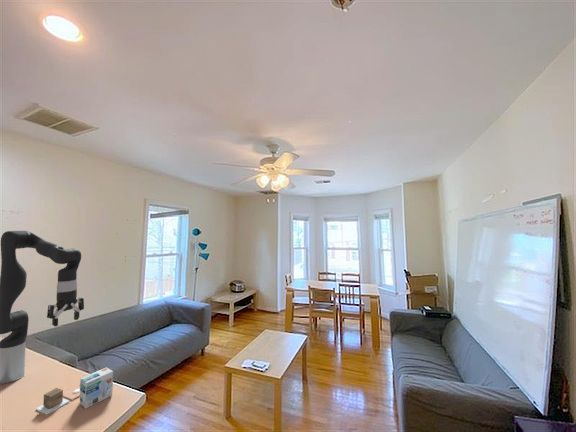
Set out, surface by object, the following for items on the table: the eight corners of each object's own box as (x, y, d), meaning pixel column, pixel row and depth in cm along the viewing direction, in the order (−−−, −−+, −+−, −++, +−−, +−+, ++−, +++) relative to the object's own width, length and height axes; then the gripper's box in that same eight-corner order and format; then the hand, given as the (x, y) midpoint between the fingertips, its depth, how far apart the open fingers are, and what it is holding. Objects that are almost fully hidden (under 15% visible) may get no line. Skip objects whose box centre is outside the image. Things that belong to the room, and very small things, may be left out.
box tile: (35, 409, 107) (35, 407, 107) (58, 397, 114) (58, 395, 114) (47, 414, 104) (47, 412, 104) (69, 402, 111) (69, 400, 111)
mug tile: (61, 396, 115) (61, 394, 115) (80, 385, 122) (80, 384, 123) (72, 400, 112) (72, 398, 112) (91, 389, 120) (91, 387, 120)
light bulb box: (85, 409, 107) (85, 383, 107) (78, 403, 110) (79, 378, 111) (113, 394, 116) (113, 370, 116) (106, 389, 120) (107, 366, 120)
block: (43, 406, 108) (43, 394, 108) (56, 399, 112) (56, 387, 112) (49, 408, 106) (50, 396, 106) (62, 401, 110) (62, 390, 110)
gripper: (78, 285, 133) (77, 316, 132) (44, 292, 119) (43, 327, 119) (87, 286, 130) (87, 318, 129) (54, 293, 117) (53, 329, 116)
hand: (66, 322), depth 124 cm, fingers open, 8 cm apart
